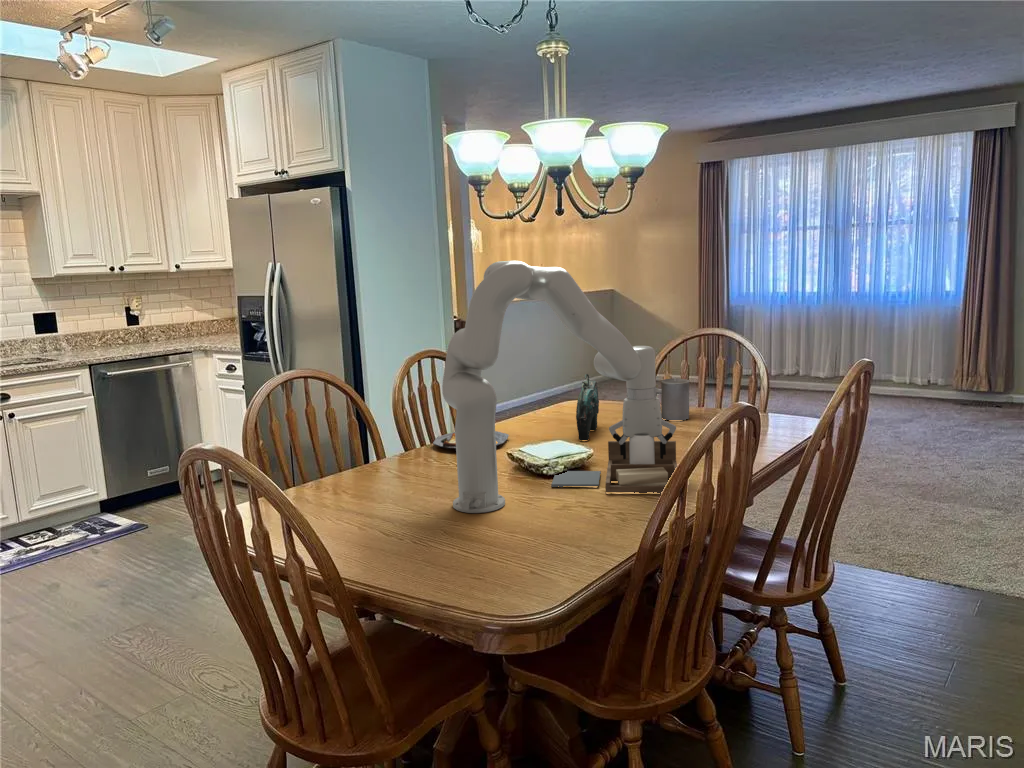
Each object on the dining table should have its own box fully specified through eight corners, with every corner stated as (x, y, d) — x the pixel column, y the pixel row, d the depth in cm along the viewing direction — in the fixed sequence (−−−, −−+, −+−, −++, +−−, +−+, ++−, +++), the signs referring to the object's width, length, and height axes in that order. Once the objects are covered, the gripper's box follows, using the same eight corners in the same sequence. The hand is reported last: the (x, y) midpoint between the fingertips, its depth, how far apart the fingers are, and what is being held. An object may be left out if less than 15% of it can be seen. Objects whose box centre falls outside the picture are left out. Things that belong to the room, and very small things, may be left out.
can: (654, 480, 195) (654, 435, 193) (629, 480, 196) (628, 435, 194) (655, 473, 201) (654, 429, 199) (630, 473, 203) (629, 429, 201)
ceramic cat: (584, 427, 259) (583, 370, 255) (603, 428, 257) (602, 370, 254) (573, 441, 240) (571, 379, 237) (593, 442, 238) (591, 379, 235)
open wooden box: (680, 494, 183) (680, 463, 181) (605, 494, 186) (604, 463, 184) (675, 469, 204) (675, 440, 203) (609, 469, 207) (608, 441, 206)
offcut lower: (668, 492, 187) (667, 482, 186) (619, 493, 188) (619, 483, 187) (665, 486, 192) (665, 476, 191) (618, 487, 193) (617, 477, 192)
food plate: (499, 454, 228) (498, 442, 228) (425, 454, 233) (424, 443, 232) (514, 436, 253) (513, 426, 252) (446, 437, 257) (446, 427, 257)
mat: (598, 488, 191) (598, 484, 191) (551, 487, 193) (551, 484, 193) (600, 474, 203) (600, 471, 202) (556, 474, 205) (556, 471, 204)
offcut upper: (667, 482, 187) (667, 472, 186) (619, 484, 186) (619, 475, 186) (663, 476, 192) (663, 467, 191) (616, 479, 191) (616, 469, 191)
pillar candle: (657, 416, 270) (657, 375, 268) (684, 415, 271) (683, 374, 269) (666, 423, 261) (665, 380, 258) (693, 421, 262) (693, 378, 259)
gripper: (674, 390, 197) (676, 453, 200) (608, 392, 200) (610, 454, 203) (676, 395, 190) (677, 461, 193) (607, 397, 193) (609, 462, 196)
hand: (643, 457), depth 198 cm, fingers open, 9 cm apart
